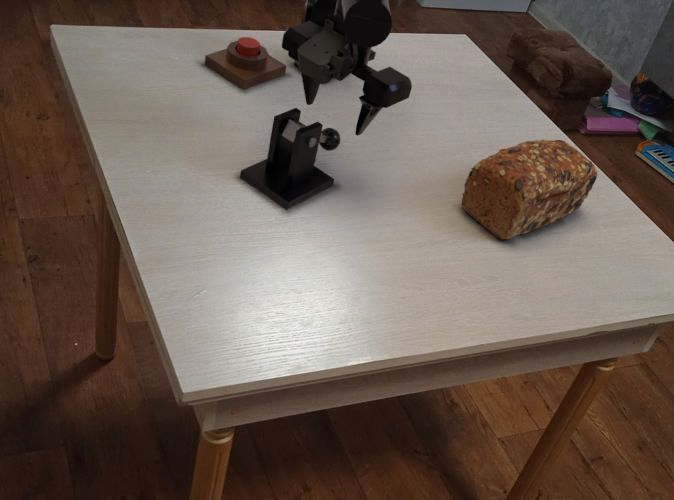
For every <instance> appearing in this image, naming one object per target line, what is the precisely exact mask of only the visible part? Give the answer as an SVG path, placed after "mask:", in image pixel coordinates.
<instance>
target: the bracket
mask: <svg viewBox="0 0 674 500" xmlns="http://www.w3.org/2000/svg"><path fill="white" fill-rule="evenodd" d="M301 114H302V110H300V109H299V108H297V107H294V108H291V109H289V110H286V111H284V112H281V113H279V114H276V115H274V116H273V121H272V128H271V133H270V139H269V145H268V150H267V158H266V159H263V160H261V161H259V162H256V163H254V164H252V165H250V166H248V167H245V168H243V169H241V170H240V174H239V178H240V179H242V180H243V181H245V182H246V183H248V184H249V185H250V186H252V187H254V188H255V189H256V190H258V191H259V192H260V193H262V194H264V195H265V196H266V197H268V198H269V199H271V200H272V201H274V202H275V203H276V204H277V205H279V206H280V207H282V208H284V209H285V210H289V209H291V208H293V207H295V206H296V205H298V204H300V203H302V202H305V201H306V200H309V199H311V198H312V197H314V196H316V195H318V194H320V193H322V192H324V191H326V190H327V189H331V188H332V187H334V184H335V178H334V177H332V176H331V175H329V174H327V173H326V172H324V171H323V170H322V169H320V168H318V167H317V166H315V164H316V160H317V155H318V150H319V146H320V144H319V141H320V136H321V132H322V130H323V127H324V124H322V123H321V122H320V121H316V122H313V123H311V124H309V125H306V127H304V128H301V129H299V130H297V131H296V135H295V140H294V143H292V142H291V141H289V140H288V139H286V138H285V137H283V136H282V133H283V131H284V129H285V127H286V125H287V122H288V120H289V119H290V120H294V121H299V122H300V120H301Z"/></svg>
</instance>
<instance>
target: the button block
mask: <svg viewBox="0 0 674 500" xmlns="http://www.w3.org/2000/svg"><path fill="white" fill-rule="evenodd" d="M237 43H238V40H235V41H232V42H231V41H230V42H229V44H228V45H227V48H225V49H221V50H219V51H215V52H210V53H208V54H206V55H205V57H204V66H206V67H207V68H209V69H210V70H212V71H214V72H215V73H216V74H218V75H220V76H221V77H223V78H225V79H226V80H228V81H229V82H231V83H232V84H234V85H235V86H237V87H238V88H240V89H241V90H246V89H247V90H248V89H249V88H252V87H256V86H257V85H261V84H263V83H267V82H268V81H273V80H275V79H277V78H280V77H283V76H286V73H287V72H286V71H287V64H285V63H283V62H282V61H280V60H279V59H277V58H275V57H273V56H272V55H270V54H269V52H268V50H267V48H266V47H264V46H262V45H261V44H260V48H259V54H258V56H255V57H254V56H245V55H242V54H240V53H238V52H237Z"/></svg>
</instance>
